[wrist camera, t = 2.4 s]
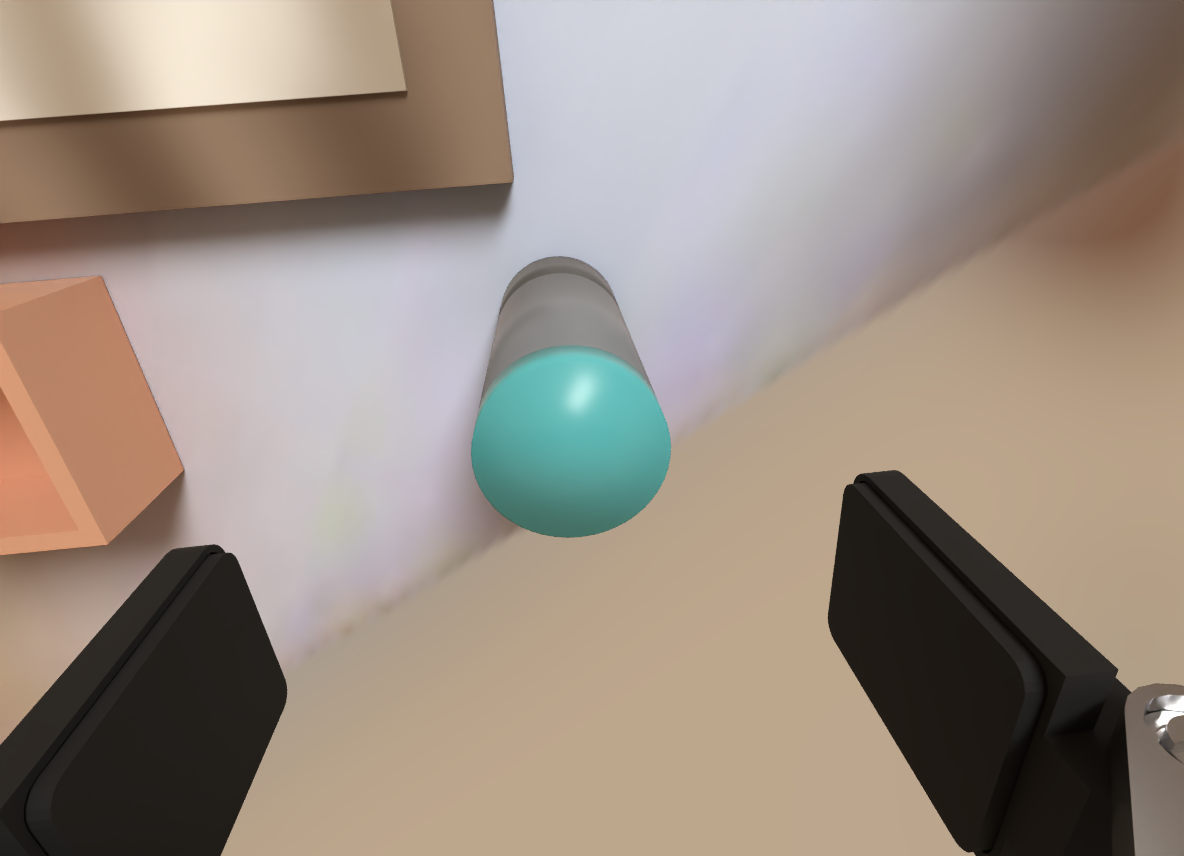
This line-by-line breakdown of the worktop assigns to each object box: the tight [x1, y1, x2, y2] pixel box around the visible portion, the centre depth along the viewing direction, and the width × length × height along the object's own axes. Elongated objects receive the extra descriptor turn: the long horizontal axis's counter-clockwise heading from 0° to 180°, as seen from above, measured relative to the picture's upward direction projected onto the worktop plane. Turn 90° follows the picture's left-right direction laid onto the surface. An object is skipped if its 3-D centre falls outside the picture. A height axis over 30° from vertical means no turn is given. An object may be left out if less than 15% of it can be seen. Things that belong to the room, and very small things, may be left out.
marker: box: [471, 256, 671, 538], centre depth 17 cm, size 4×4×10 cm
